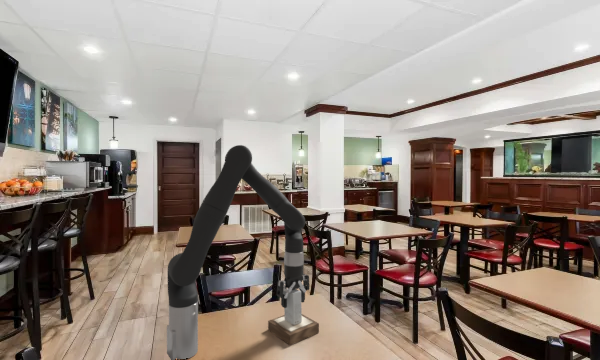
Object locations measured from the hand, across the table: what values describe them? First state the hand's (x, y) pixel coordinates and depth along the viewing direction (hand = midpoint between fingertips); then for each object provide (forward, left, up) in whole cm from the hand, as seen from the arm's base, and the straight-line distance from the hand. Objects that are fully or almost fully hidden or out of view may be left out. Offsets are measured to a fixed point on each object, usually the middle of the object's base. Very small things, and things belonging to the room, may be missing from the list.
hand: (293, 304), depth 119 cm
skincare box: (0, 0, -7) cm, 7 cm away
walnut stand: (0, 0, -11) cm, 11 cm away
